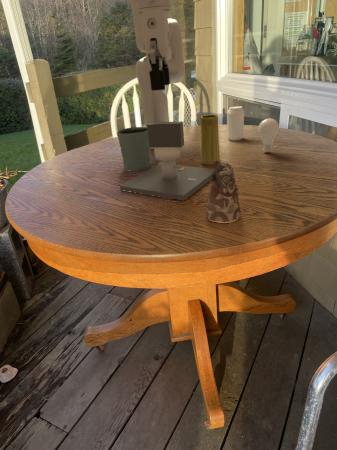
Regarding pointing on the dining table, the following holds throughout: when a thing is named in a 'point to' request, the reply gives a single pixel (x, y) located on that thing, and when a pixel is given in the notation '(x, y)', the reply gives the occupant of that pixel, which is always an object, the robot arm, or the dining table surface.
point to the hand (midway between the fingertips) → (161, 87)
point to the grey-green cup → (135, 148)
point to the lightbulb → (268, 133)
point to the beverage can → (235, 123)
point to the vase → (209, 139)
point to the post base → (169, 180)
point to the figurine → (223, 194)
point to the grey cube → (166, 139)
